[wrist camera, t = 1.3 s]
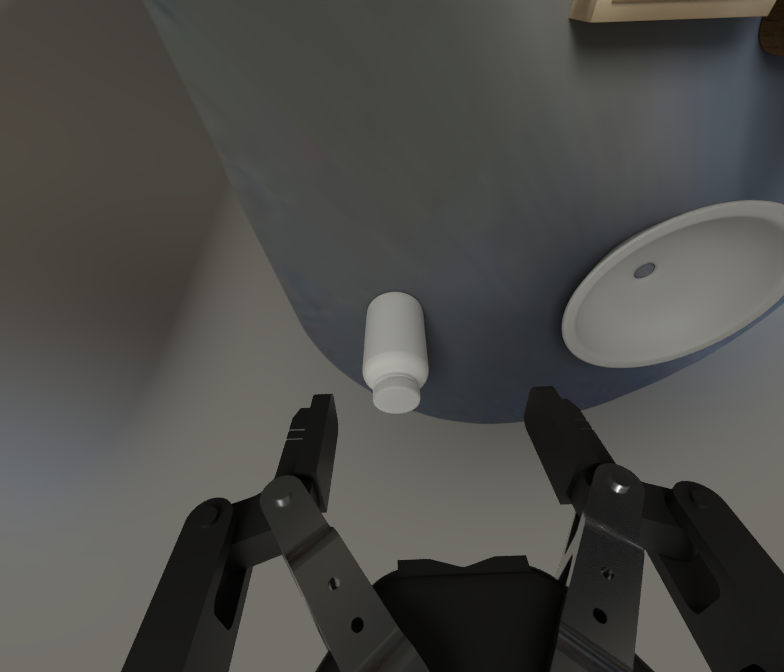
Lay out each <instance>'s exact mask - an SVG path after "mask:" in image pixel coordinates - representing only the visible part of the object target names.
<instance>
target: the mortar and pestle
mask: <svg viewBox="0 0 784 672" xmlns="http://www.w3.org/2000/svg"><path fill="white" fill-rule="evenodd" d="M759 38H760V43H761V46H762V48H763V49H764V50H765V51H766V52H767V53H770V54H772V55H777V56H784V0H776V2H775V4H774V5H773V7H772V9H771V11H770V12H769V14H768V16H763V19H762V22H761V27H760V34H759Z"/></svg>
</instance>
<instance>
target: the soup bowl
mask: <svg viewBox="0 0 784 672" xmlns="http://www.w3.org/2000/svg"><path fill="white" fill-rule="evenodd" d="M648 263H653V264H654V266H655V268H654V270H653V271H652V273H650V274H649V275H648V276H646V277H643V278H635V277H634V272H635V271H636V270H637V269H638V268H639V267H640V266H642V265H644V264H648ZM783 295H784V204H781V203H776V202H772V201H764V200H738V201H729V202H724V203H718V204H713V205H709V206H705V207H701V208H698V209H695V210H692V211H689V212H686V213H683V214H681V215H678V216H676V217H673V218H671V219H668V220H666V221H664V222H661V223H659V224H656V225H653V226H651V227H649V228H647V229H645V230H643V231H641V232H639V233H637V234H635V235H633V236H632V237H630V238H628V239H627V240H625V241H624V242H622V243H621V244H619V245H618V246H617V247H615V248H614V249H613V250H611V251H610V252H609V253H608V254H607V255H606V256H605V257H603V258H602V259H601V260H600V261H599V262H598V263H597V265H596V266H595V267H594V268H593V269H592V270H591V272H590V273H589V274H588V275H587V276H586V277H585V279H584V280H583V281H582V282H581V283H580V285H579V286H578V287H577V289H576V290H575V292H574V293H573V295H572V296H571V298H570V300H569V302H568V304H567V306H566V309H565V311H564V314H563V319H562V336H563V340H564V342H565V344H566V346H567V347H568V349H569V350H570V351H571V352H572V353H573V354H574V355H575V356H576V357H578V358H579V359H581V360H583V361H585V362H587V363H590V364H593V365H597V366H602V367H610V368H631V367H641V366H648V365H653V364H658V363H662V362H666V361H670V360H674V359H677V358H680V357H683V356H686V355H689V354H691V353H694V352H697V351H699V350H702V349H704V348H706V347H708V346H711V345H713V344H715V343H717V342H719V341H721V340H723V339H725V338H726V337H728V336H730V335H732V334H734V333H735V332H737V331H739V330H740V329H742V328H744V327H745V326H747V325H748V324H750V323H751V322H753V321H754V320H755V319H757V318H758V317H759V316H761V315H762V314H763V313H765V312H766V311H767V310H768V309H769V308H771V307H772V306H773V305H774V304H775V303H776V302H777V301H778V300H780V299H781V298H782V296H783Z"/></svg>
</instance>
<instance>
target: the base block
mask: <svg viewBox="0 0 784 672" xmlns="http://www.w3.org/2000/svg"><path fill="white" fill-rule="evenodd" d="M775 2H776V0H573V4H572V7H571V11H570V15H569V18H571V19H576V20H581V21H585V22H590V23H593V22H620V21H647V20H674V19H701V18H729V17H756V16H768V14H769V12H770V11H771V9H772V7H773V5H774V4H775Z"/></svg>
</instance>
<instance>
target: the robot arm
mask: <svg viewBox="0 0 784 672" xmlns="http://www.w3.org/2000/svg"><path fill="white" fill-rule="evenodd" d="M524 423H525V427H526V430H527V432H528V434H529V436H530V438H531V440H532V443H533V445H534V447H535V449H536V452H537V454H538V456H539V458H540V461H541V463H542V465H543V467H544V469H545V472H546V474H547V476H548V478H549V480H550V482H551V485H552V487H553V489H554V491H555V494H556V496H557V498H558V499H559V502H560V504H572V505H573V507H574V509H575V513H574V516H573V519H572V523H571V526H570V530H569V533H568V537H567V540H566V544H565V548H564V551H563V555H562V558H561V562H560V564H559V567H558V569H557V572H556V575H555V577H553V576H551V575H550V574H548V573H546V572H544V571H542V570H540V569H537V568H535V567H532V566H529V564H528V561H527V557H526V555H522V556H495V557H492V558H489V559H486V560H483V561H481V562H478V563H475V564H472V565H469V566H467V567H459V566H455V565H451V564H447V563H443V562H439V561H435V560H431V559H419V560H418V559H417V560H398V570H396V571H393V572H391V573H389V574H387V575H385V576H383V577H382V578H380V579H379V580H378V581H376V582H375V583H374V584H373V585H371V584H370V582H369V581H368V579H367V578H366V576H365V574H364V573H363V571H362V570H361V568H360V567H359V565H358V563H357V562H356V560H355V559H354V557H353V556H352V554H351V552H350V551H349V550H348V548H347V546H346V545H345V543H344V542H343V540H342V538H341V537H340V535H339V534H338V532H337V531H336V530H335V529H334V528H333V527H330V526H329V524H328V523H327V522H326V520H325V518H324V517H323V515H322V513H324V512H327V506H328V499H329V492H330V485H331V478H332V472H333V464H334V458H335V450H336V444H337V436H338V420H337V413H336V409H335V403H334V396H333V394H318V395H314V396H313V399H312V403H311V407H310V408H301V409H300V410H299V411H298V412H297V414H296V415H295V416H294V417H293V419H292V423H291V425H290V429H289V432H288V436H287V441H286V442H285V446H284V449H283V452H282V456H281V459H280V462H279V466H278V469H277V472H276V475H275V478H274V480H272V481H271V482H270V483H269V484H268V485H267V486H266V487H265V488H264V490H263V491H262V492H261V493H259V494H257V495H256V496H253V497H251V498H248V499H245V500H242V501H239V502H236V503H233V504H231V503H230V502H229V501H228V500H227V499H224V498H212V499H209V500H207V501H204V502H203V503H201V504H200V505H198V506H197V507H196V508H195V509H194V510H193V511H192V512H191V513H190V514H189V516H188V517H187V519H186V521H185V523H184V526H183V528H182V531H181V533H180V535H179V537H178V540H177V542H176V545H175V547H174V549H173V552H172V554H171V556H170V558H169V561H168V563H167V565H166V568H165V570H164V572H163V575H162V577H161V579H160V582H159V584H158V587H157V589H156V591H155V594H154V596H153V598H152V600H151V603H150V605H149V608H148V610H147V612H146V614H145V617H144V619H143V621H142V624H141V627H140V628H139V631H138V633H137V636H136V638H135V640H134V643H133V645H132V647H131V650H130V652H129V654H128V657H127V659H126V661H125V664H124V666H123V668H122V671H121V672H228V671H229V667H230V663H231V658H232V654H233V650H234V645H235V641H236V637H237V633H238V628H239V624H240V620H241V616H242V612H243V607H244V603H245V599H246V595H247V590H248V586H249V581H250V578H251V573H252V569H253V566H255V565H257V564H260V563H262V562H265V561H267V560H270V559H272V558H275V557H277V556H280V555H282V556H283V558H284V560H285V562H286V564H287V566H288V568H289V570H290V573H291V575H292V577H293V579H294V581H295V583H296V585H297V587H298V589H299V591H300V593H301V596H302V598H303V600H304V602H305V604H306V606H307V608H308V610H309V613H310V615H311V617H312V619H313V621H314V623H315V625H316V627H317V630H318V632H319V634H320V636H321V638H322V640H323V642H324V644H325V646H326V649H327V651H328V652H327V654H326V656H325V657H324V659H323V660H322V662H321V663H320V665H319V666H318V668H317V670H316V671H315V672H654V671H653V670H652V669H651V668H650V667H649V666H648V665H647V664H646V663H645V662H644V661H643V660H642V659H641V658H640V657H639V656H638V655H637V654H636V653H635V644H636V635H637V624H638V614H639V604H640V595H641V585H642V574H643V564H644V550H646V551H647V553H648V555H649V557H650V558H651V561H652V562H653V564H654V566H655V568H656V570H657V572H658V573H659V575H660V577H661V579H662V581H663V583H664V584H665V586H666V588H667V590H668V592H669V594H670V595H671V597H672V599H673V601H674V603H675V604H676V606H677V608H678V610H679V612H680V614H681V616H682V617H683V619H684V621H685V623H686V625H687V627H688V628H689V630H690V632H691V634H692V636H693V638H694V640H695V641H696V643H697V645H698V647H699V648H700V650H701V652H702V654H703V656H704V658H705V660H706V662H707V663H708V665H709V667H710V669H711V671H712V672H784V574H783V572H782V571H781V570H780V569H779V567H778V566H777V565H776V564H775V563H774V562H773V560H772V559H771V558H770V556H769V555H768V554H767V553H766V552H765V550H764V549H763V548H762V547H761V545H760V544H759V543H758V542H757V540H756V539H755V538H754V537H753V536H752V534H751V533H750V532H749V531H748V529H747V528H746V527H745V526H744V525H743V523H742V522H741V521H740V520H739V518H738V517H737V516H736V515H735V514H734V512H733V511H732V510H731V509H730V507H729V506H728V505H727V504H726V502H725V501H724V500H723V499H722V498H721V497H720V496H719V495H718V494H716V493H715V492H714V491H712V490H710V489H709V488H707V487H705V486H703V485H700V484H698V483H695V482H691V481H681V482H678V483H676V484H675V485H674V487H673V488H672V489H669V488H665V487H661V486H656V485H652V484H648V483H644V482H641V481H640V480H639V478H638V477H637V476H636V475H635V474H634V473H632V472H631V471H630V470H628V469H626V468H624V467H622V466H620V465H617V464H615V462H614V460H613V459H612V457H611V456H610V454H609V453H608V451H607V450H606V448H605V447H604V445H603V444H602V442H601V441H600V439H599V438H598V436H597V435H596V433H595V432H594V430H592V427H591V426H590V424H589V423H588V422H587V421H586V418H585V417H584V415H583V414H582V412H581V411H580V409H579V408H578V407H577V406H576V405H574V404H573V403H572V402H571V401H569V400H568V399H561V398H560V396H559V395H558V393H557V391H556V390H555V388H554V387H552V386H545V387H532V388H531V390H530V394H529V397H528V401H527V405H526V409H525V413H524Z"/></svg>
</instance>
